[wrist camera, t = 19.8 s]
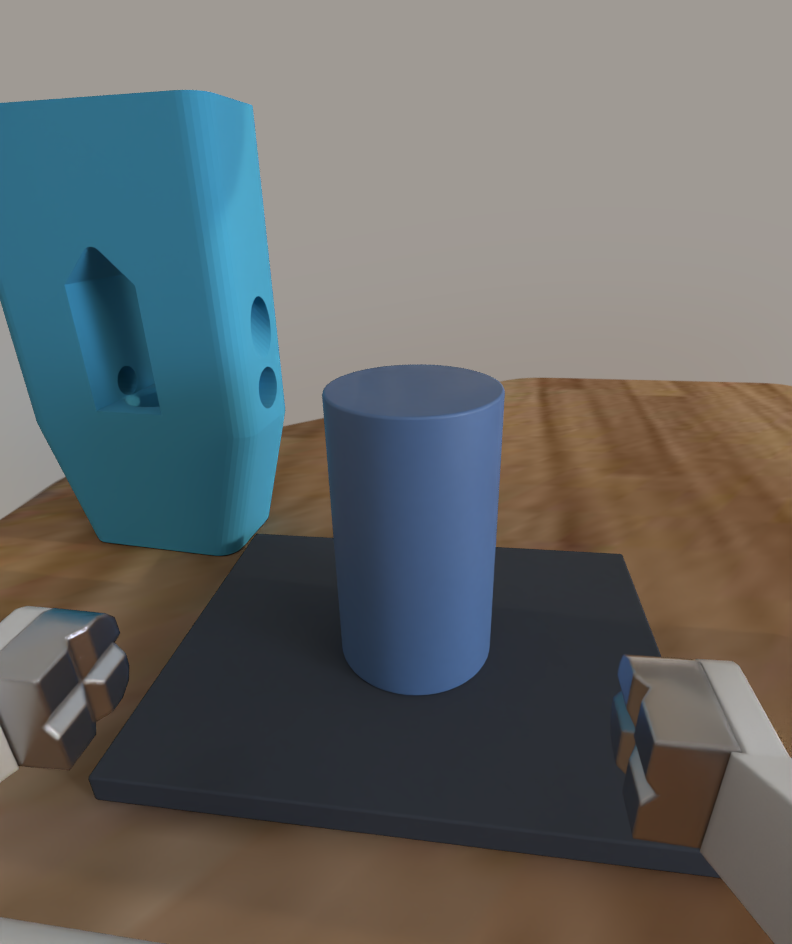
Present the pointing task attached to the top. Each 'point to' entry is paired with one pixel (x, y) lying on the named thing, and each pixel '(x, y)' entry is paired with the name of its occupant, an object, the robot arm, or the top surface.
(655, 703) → the robot arm
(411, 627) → the cylinder block
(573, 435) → the top surface
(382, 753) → the mat
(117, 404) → the block
